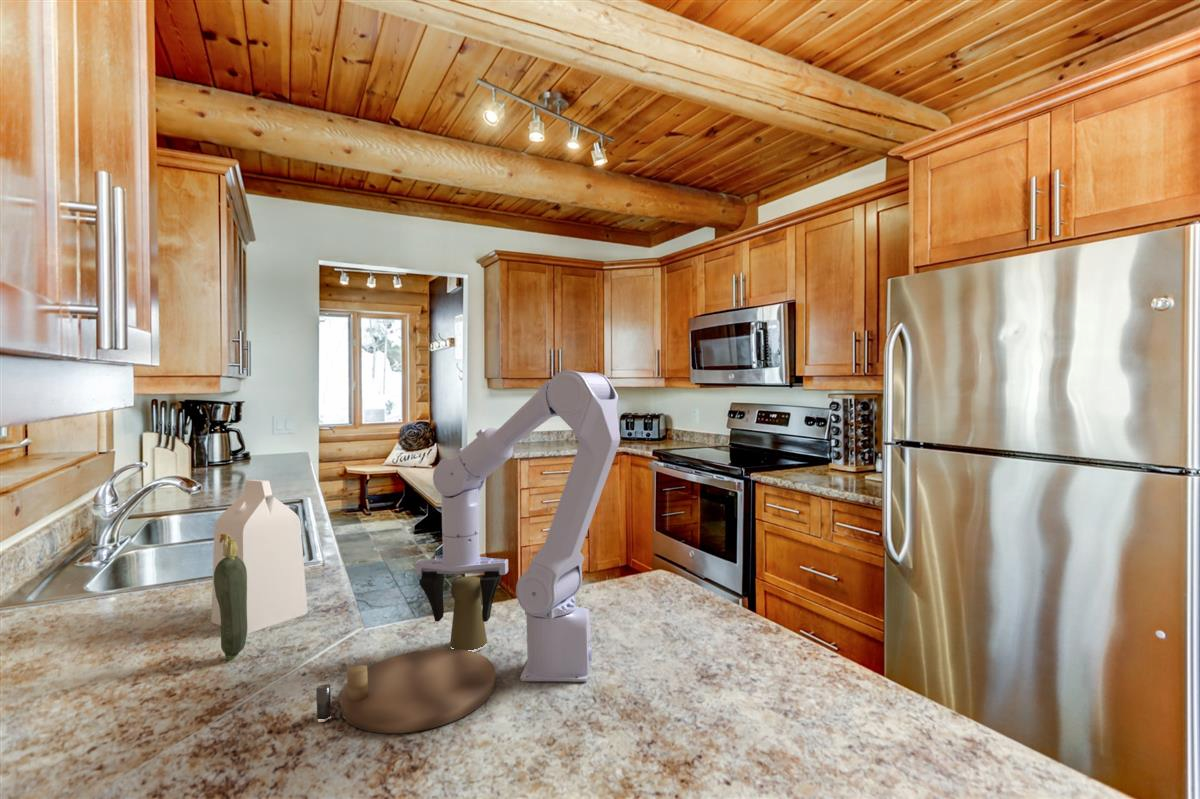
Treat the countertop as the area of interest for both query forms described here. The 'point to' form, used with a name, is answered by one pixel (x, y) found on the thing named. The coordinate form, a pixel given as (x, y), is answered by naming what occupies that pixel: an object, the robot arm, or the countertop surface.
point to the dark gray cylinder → (323, 701)
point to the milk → (264, 556)
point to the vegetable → (231, 598)
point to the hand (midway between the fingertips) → (462, 619)
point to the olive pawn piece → (467, 614)
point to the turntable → (416, 690)
